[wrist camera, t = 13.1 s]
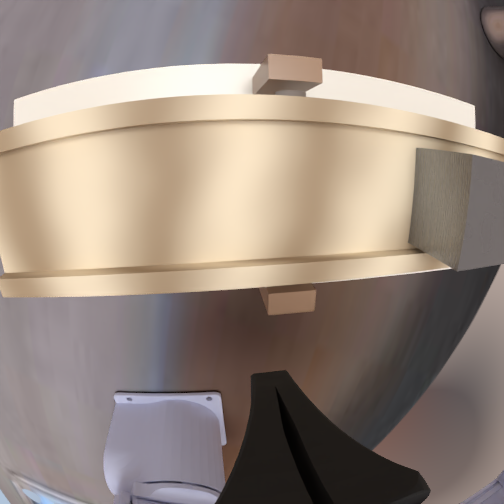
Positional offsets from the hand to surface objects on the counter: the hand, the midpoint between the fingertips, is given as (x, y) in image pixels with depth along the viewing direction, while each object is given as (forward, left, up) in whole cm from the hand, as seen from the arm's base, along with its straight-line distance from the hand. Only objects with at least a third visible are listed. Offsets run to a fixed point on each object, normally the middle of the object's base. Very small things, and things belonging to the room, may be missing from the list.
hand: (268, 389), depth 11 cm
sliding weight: (+11, +7, -4) cm, 13 cm away
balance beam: (+2, +7, -5) cm, 9 cm away
